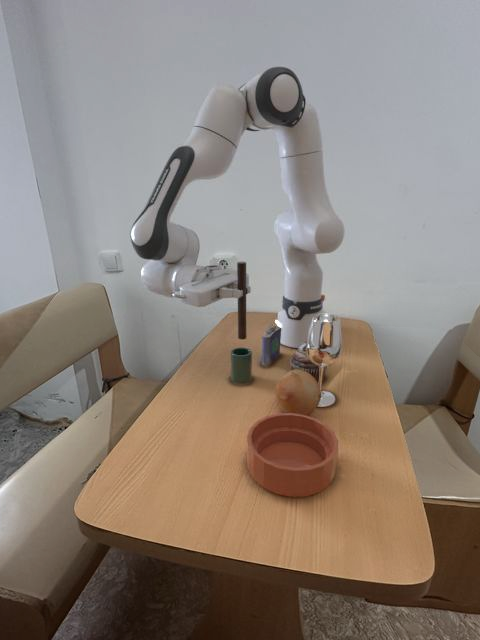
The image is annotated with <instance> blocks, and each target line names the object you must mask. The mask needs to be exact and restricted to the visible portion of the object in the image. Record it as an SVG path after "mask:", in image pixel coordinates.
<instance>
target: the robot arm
mask: <svg viewBox="0 0 480 640" xmlns="http://www.w3.org/2000/svg"><path fill="white" fill-rule="evenodd" d="M303 92H304V91H303V87H302V84H301V82H300V79H299V78H298V76H297V74H296V73H295V72H294V71H293V70H291V69H290V68H288V67H286V66H285V67H284V66H273V67H270V68H267V69H266V70H264V71H261V72H259V73H258V74H256V75H254V76H253V77H251V78H250V80H249V81H247V82H245V83H244V84H242V85H241V86H240V87H239V88H236V87H235V86H233V85H230V84H227V83H219V84H216V85H214V86H212V88H211V89H210V90H209V92H208V93H207V95H206V97H205V99H204V101H203V102H202V104H201V106H200V109H199V111H198V113H197V116H196V117H195V118H196V119H195V121H194V124H193V126H192V129H191V132H190V134H189V136H188V137H187V139H186V140H185V142H184V144H183V145H182V146H178V147H177V148H176V149H174V151H173V152H172V153H171V155H170V156H169V158H168V160H167V161H166V163H165V165H164V167H163V170H162V171H161V172H160V175H159V177H158V180H157V181H156V184H155V186H154V188H153V190H152V192H151V193H150V196H149V198H148V200H147V202H146V203H145V205H144V208H143V209H142V211H141V212H140V214H139V215H138V217H136V219H135V221H134V222H133V224H132V226H131V229H130V235H129V236H130V242H131V245H132V248H133V250H134V252H135V253H136V254H137V256H138V257H140V258H141V259H143V260H148V262H146V263H145V264H144V265H142V268H141V271H140V278H141V281H142V284H143V286H144V287H145V288H146V289H147V290H148V291H149V292H151V293H153V294H155V295H158V296H162V297H166V298H172V299H175V298H177V299H180V301H181V303H183V304H186V305H188V306H192V307H196V308H204V307H207V306H210V305H212V304H213V303H216V302H218V301H220V300H223V299H232V298H233V299H238V298H240V297H242V296H243V290H242V289H238V288H237V269H232V268H222V266H221V265H217V264H214V265H213V264H212V265H197V261H198V258H199V254H200V248H201V247H200V239H199V237H198V234H196V232H195V231H194V230H192V229H190V228H188V227H186V226H183V225H180V224H177V223H174V222H172V221H171V218H172V217H171V216H173V213H174V211H175V209H176V207H177V205H178V202H179V200H180V199H181V197H182V194H183V193H184V191H185V189H186V188H187V187H188V185H190V184H191V183H193V182H195V181H199V180H214V179H217V178H220V177H221V176H223V175H224V174H226V173H227V172H228V170H229V168H230V167H231V165H232V163H233V161H234V158H235V156H236V153H237V150H238V147H239V145H240V141H241V138H242V136H243V135H244V132H245V131H249V132H259V131H266V130H272V132H273V133H274V136H275V137H276V139H277V143H278V156H279V157H278V159H279V167H280V178H281V186H282V190H283V192H284V194H285V195H286V197H287V198H288V201H289V203H290V205H291V208H290V209H287V210H284V211H281V213H280V214H279V215H277V217H276V219H275V220H274V225H273V232H274V235H275V238H277V241H278V243H279V246H280V250H281V255H282V256H281V257H282V262H283V268H284V290H283V291H284V294H283V296H282V300H281V304H282V305H281V307H282V309H281V310H280V311H278V313H277V319H275V321H274V323H275V325H276V326H278V327H281V340H280V345H283V346H285V347H289V348H294V349H298V348H299V347H300V346H302V345H303V344H304V342H306V339H307V335H308V331H309V328H310V325H311V322H312V319H313V316H314V315H316V314H320V313H327V312H326V311H325V310H324V309H323V308H324V306H323V305H324V301H325V300H326V296H325V294H322V292H323V291H322V289H323V279H324V278H323V277H324V272H323V268H322V267H321V265H320V264H319V261H318V258H317V255H322V254H323V255H324V254H330V253H333V252H335V251H337V250H338V249H339V247H340V246H341V245H342V243H343V241H344V238H345V224H344V222H343V221H342V219H340V217H339V216H338V215H337V213H336V212H335V210H334V207H333V204H332V202H331V199H330V197H329V192H328V190H327V186H326V179H325V168H324V154H323V153H324V152H323V151H324V149H323V139H322V132H321V126H320V121H319V117H318V116H319V115H318V113H317V109H316V108H315V107H314V106H313V104H310V103H308V102H306V97H305V94H304V93H303ZM251 289H252V288H251V286H250V275H249V273H247V272H246V295H249V294H250V293H251Z"/></svg>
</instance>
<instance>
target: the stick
mask: <svg viewBox="0 0 480 640" xmlns="http://www.w3.org/2000/svg"><path fill="white" fill-rule="evenodd" d="M236 270H237V288H238V289H242V290H243V296H242V297H240V298H237V338H238V339H239V340H246V339H247V294H246V273H247V261H237V262H236Z"/></svg>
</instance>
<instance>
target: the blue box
mask: <svg viewBox="0 0 480 640" xmlns="http://www.w3.org/2000/svg"><path fill="white" fill-rule="evenodd" d="M266 327H268V328H267V330H266V331H264V333H263V335H262V337H261V340H262V342H261V343H262V344H261V365H262V366H265V367H267V366H270V365H271V364H272V362H273V361H274V360H275V359H276V358H277V357H279V356H280V355H281V354H280V353H281V343H280V340H281V327H278V326H277V325H273V324H271V323H269V324H267V326H266Z"/></svg>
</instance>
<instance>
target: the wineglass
mask: <svg viewBox="0 0 480 640" xmlns="http://www.w3.org/2000/svg"><path fill="white" fill-rule="evenodd" d="M342 336H343V335H342V326H341V318H340V317H339V316H338V315H337V314H334V313H329V312H328V313H327V312H326V313H320V314H316V315H314V316H313V319H312V322H311V325H310V328H309V331H308V335H307V339H306V345H305V351H306V355H307V357H308V358H309V360H310V361H311V362H312V363H313V364H315V365H317V366H319V383H318V385H319V387H320V390H321V399H320V402H319V404H318V406H317V407H316V408H318V407H319V408H326V407H330V406H332V405H333V404H334V403H335V402H336V397H335V395H334V394H333V393H332V392H331V391H329V390H325V389H323V390H322V383H323V380H322V375H323V369H324V367H327V366H328V367H330V366H331V365H333V364H335V363H336V362H337V361H338V360H339V359H340V356H341V355H342V350H343V337H342ZM328 367H327V368H328Z"/></svg>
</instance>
